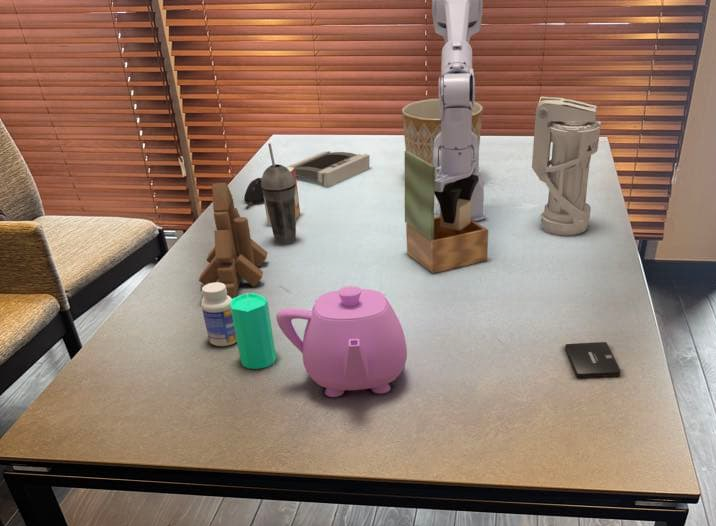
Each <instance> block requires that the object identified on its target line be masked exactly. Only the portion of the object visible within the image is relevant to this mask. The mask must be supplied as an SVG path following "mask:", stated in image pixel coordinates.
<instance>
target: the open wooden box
mask: <svg viewBox="0 0 716 526" xmlns="http://www.w3.org/2000/svg"><path fill="white" fill-rule="evenodd" d="M405 231H406V232H405V233H406V235H405V236H406V255H408V256H409V257H411V258H412V259H413V260H415V261H416V262H417V263H419V264H420V266H422V267H423V268H425V269H426V270H427V271H429V272H430V273H431V274H436V273H441V272H445V271H448V270H453V269H457V268H461V267H467V266H471V265H474V264H478V263H483V262H486V261H488V249H489V248H488V247H489V246H488V245H489V229H488V228H487V227H485V226H483V225H482V224H480V223H479V222H478V221H474V220H472V219H471V223H470V224H469V225H467V226H466V227H464V228H463V229H461V230H460V231H459V230H454V229H449V228H444V227H440V216H439V217H434V240H429V239H428V238H427V237H425V236H424V235H422V234H421V233H420V232H418V231H417V230H415V229H414V228H413V227H411V226H410V225H408V224H407V223H406V222H405Z"/></svg>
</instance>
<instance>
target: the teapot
mask: <svg viewBox="0 0 716 526" xmlns="http://www.w3.org/2000/svg"><path fill="white" fill-rule="evenodd" d="M275 318H276V323H277V325H278V327H279V329H280V330H281V332H282V334H283V335H284V336H285V337H286V338H287V339H288V340H289V342H291V343H292V345H293V346H294V347H295V348H296V349H298V351H299V352H300V353H301V354H302V363H303V366H304V369H305V371H306V373H307V375H308V376H309V377H310V378H311V379H312V380H313V381H314V382H315V383H316V384H317V385H319V386H321V387H323V388H325V391H324V394H325V395H326V396H328V397H331V398H337V397H340V396H342V395H343V394H344V393H345V391H359V390H361V391H362V390H367V389H371V391H372V392H374V393H376V394H385V393H388V392H390V390H391V386H390V383H392V382H394V381H395V380H396V379H397V378H398V377H399V376H400V374H401V373H402V371H403V369H404V368H405V367H406V363H407V358H408V348H407V341H406V337H405V333H404V329H403V327H402V324H401V322H400V320H399V317H398V315H397V314H396V312H395V310H394V308H393V306H392V304H391V303H390V302H389V300H388V298H387V297H386V296H385V294H384V293H382V292H380V291H379V290H375V289H369V288H360V287H358V286H355V285H348V286H343V287H341V288H339V289H338V290H334V291H329V292H326V293H323V294H321V295H320V296H319V297H317V298H316V300H315V301H314V303H313V306H312V309H311V310H308V309H302V308H292V307H291V308H282V309H281V310H279V311H277V313H276V317H275ZM297 319H298V320H299V319H300V320H306V325H305V328H304V332H303V338H302V339H301V337H300V336H299V335H298V333H297V331H296V330H295V328H294V325H293V323H292V321H293V320H297Z"/></svg>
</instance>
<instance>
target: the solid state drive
mask: <svg viewBox="0 0 716 526" xmlns="http://www.w3.org/2000/svg"><path fill="white" fill-rule="evenodd" d="M564 349H565V352H566V354H567V357H568V360H569V361H570V364H571V367H572V369H573V372H574V374H575V377H576V378H580V379H581V378H583V377H602V376H609V377H619V376H621V369H620V367H619V365H618V362H617V360H616V359H615V357H614V355H613V352H612V350H611V349H610V347H609V345H608V343H607V342H606V341H598V342H597V341H596V342H579V343H577V342H576V343H566V344H565V345H564Z"/></svg>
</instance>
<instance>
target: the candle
mask: <svg viewBox="0 0 716 526" xmlns="http://www.w3.org/2000/svg"><path fill="white" fill-rule="evenodd" d="M230 307H231V312H232V317H233V323H234V328H235V333H236V338H237V342H236V344H237V349H238V352H239V358H240V363H241V365H242V366H243V367H245V368H247V369H254V370H259V369H265V368H268V367H270V366H271V365H274V364H275V363H276V361H277V354H276V348H275V347H276V346H275V341H274V335H273V328H272V322H271V315H270V309H269V303H268V300H267V298H266V297H265V296H263V295H260V294H257V293H253V292H246V293H243V294H239V295H238V296H237V295H236V297H235V298H233V299H232V300H231V302H230Z"/></svg>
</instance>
